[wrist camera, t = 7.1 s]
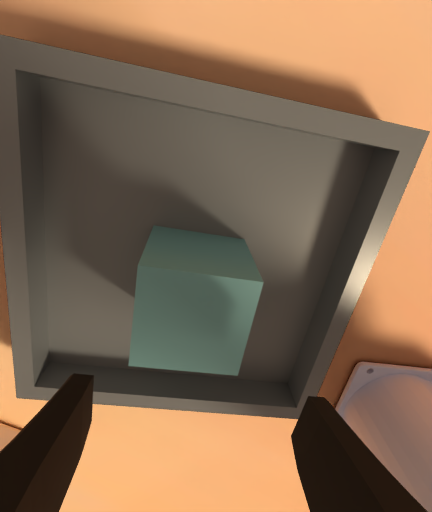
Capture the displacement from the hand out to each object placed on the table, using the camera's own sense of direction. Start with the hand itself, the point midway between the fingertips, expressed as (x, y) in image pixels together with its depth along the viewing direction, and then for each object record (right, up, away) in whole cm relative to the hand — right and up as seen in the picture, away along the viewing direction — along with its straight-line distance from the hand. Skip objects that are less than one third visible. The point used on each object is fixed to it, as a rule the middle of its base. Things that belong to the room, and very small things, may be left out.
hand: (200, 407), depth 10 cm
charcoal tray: (-1, +5, +8) cm, 9 cm away
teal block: (-1, +4, +7) cm, 8 cm away
